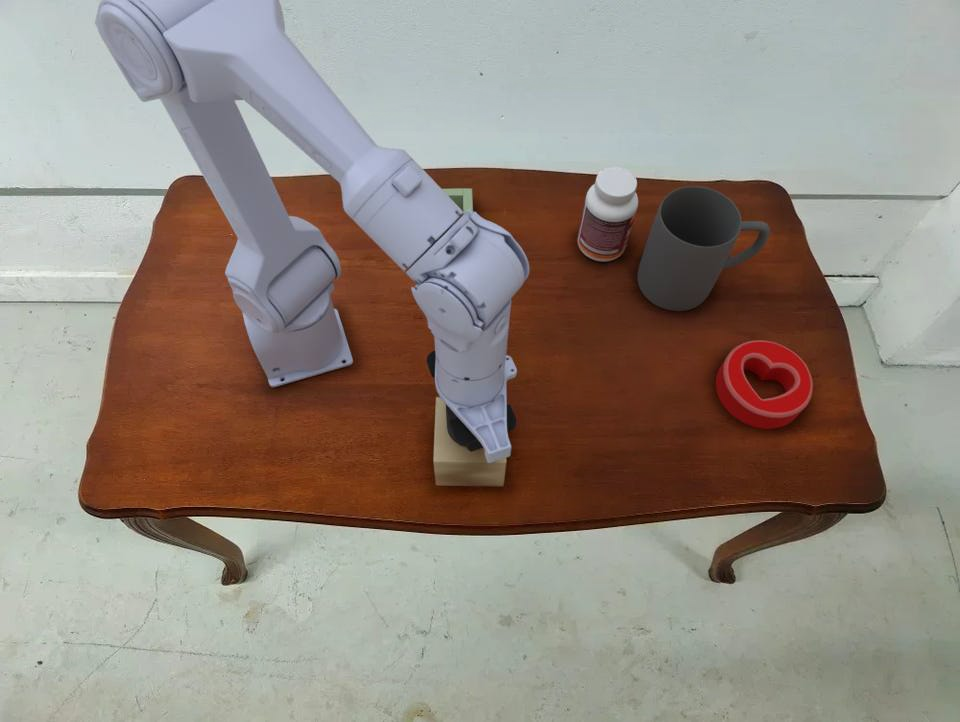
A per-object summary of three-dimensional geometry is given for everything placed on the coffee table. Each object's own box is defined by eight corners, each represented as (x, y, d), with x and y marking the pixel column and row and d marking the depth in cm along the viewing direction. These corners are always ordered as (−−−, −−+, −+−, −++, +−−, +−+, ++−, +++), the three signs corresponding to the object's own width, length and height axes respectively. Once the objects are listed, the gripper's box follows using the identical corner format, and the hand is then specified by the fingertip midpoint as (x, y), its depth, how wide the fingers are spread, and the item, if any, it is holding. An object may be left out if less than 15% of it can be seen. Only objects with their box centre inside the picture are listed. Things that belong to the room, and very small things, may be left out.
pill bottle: (630, 261, 88) (650, 199, 79) (582, 266, 88) (596, 204, 78) (619, 223, 92) (636, 159, 82) (572, 228, 91) (584, 164, 82)
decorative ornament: (721, 426, 77) (731, 414, 74) (710, 351, 82) (719, 336, 79) (810, 430, 77) (822, 418, 74) (794, 354, 82) (805, 340, 79)
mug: (643, 315, 84) (668, 250, 74) (629, 255, 89) (650, 186, 79) (754, 309, 85) (794, 244, 75) (735, 249, 90) (770, 181, 79)
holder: (410, 253, 89) (408, 237, 86) (411, 205, 93) (409, 189, 90) (474, 252, 89) (474, 236, 86) (471, 204, 93) (472, 188, 90)
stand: (435, 485, 73) (433, 461, 67) (438, 424, 77) (436, 396, 71) (503, 486, 73) (506, 462, 68) (502, 425, 77) (505, 397, 71)
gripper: (551, 411, 54) (536, 477, 65) (486, 268, 61) (483, 350, 72) (464, 439, 52) (464, 501, 64) (408, 290, 59) (417, 370, 71)
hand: (470, 423), depth 68 cm, fingers closed on pad plug, 4 cm apart
